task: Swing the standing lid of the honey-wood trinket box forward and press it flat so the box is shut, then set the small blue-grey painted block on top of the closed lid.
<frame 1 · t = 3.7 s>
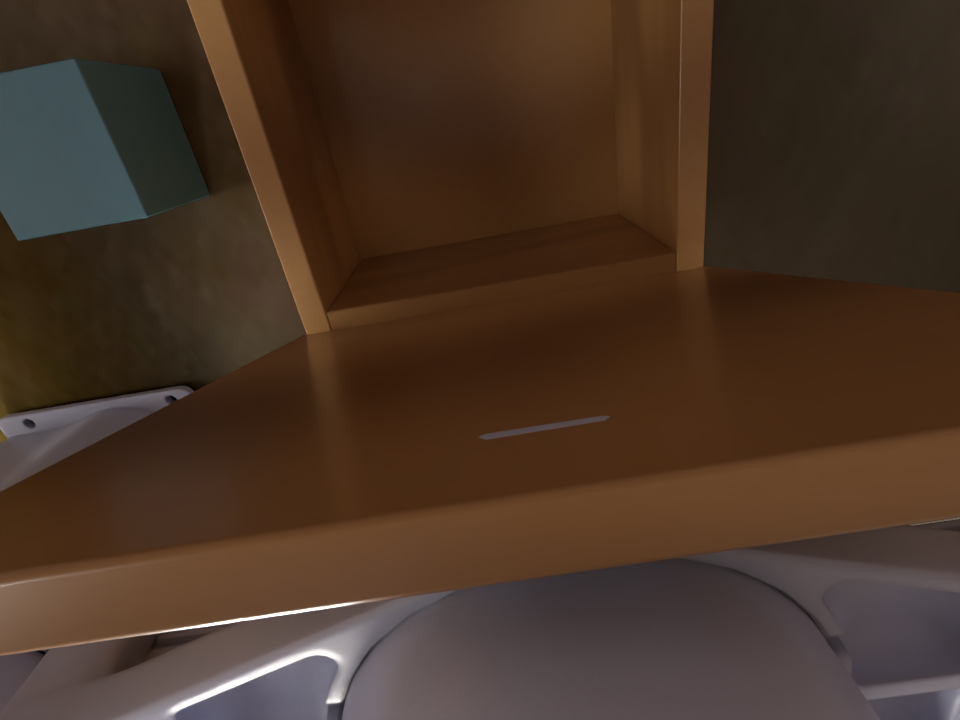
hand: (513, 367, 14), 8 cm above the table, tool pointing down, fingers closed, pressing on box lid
box lid: (516, 355, 9), point 13 cm above the table, hinge at 76.2°, touching gripper
block: (131, 146, 19), on the table
box: (468, 113, 19), on the table
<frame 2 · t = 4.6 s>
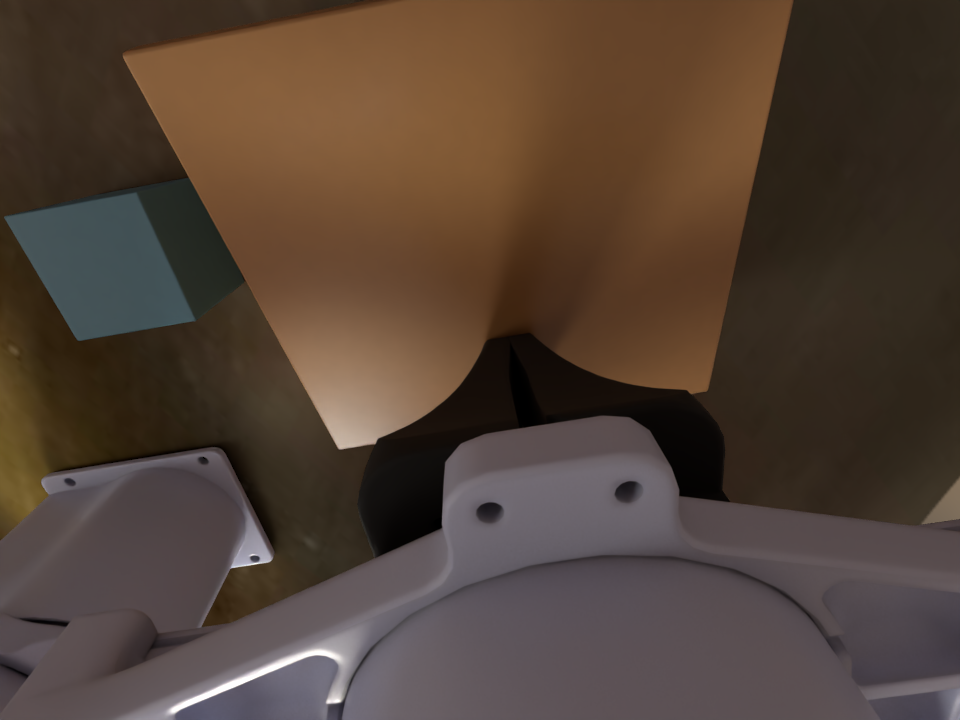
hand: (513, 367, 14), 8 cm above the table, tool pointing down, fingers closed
box lid: (496, 263, 12), point 9 cm above the table, hinge at 14.4°
block: (173, 240, 20), on the table
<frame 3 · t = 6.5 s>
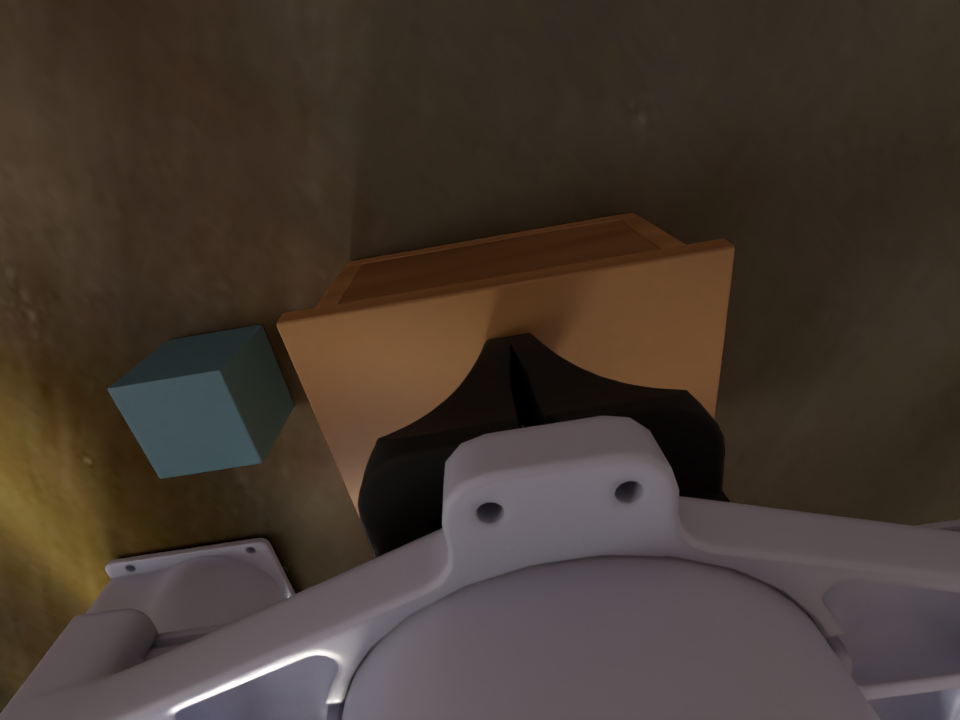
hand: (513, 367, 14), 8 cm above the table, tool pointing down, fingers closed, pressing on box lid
box lid: (523, 441, 16), point 8 cm above the table, hinge at 5.1°, touching gripper
block: (234, 374, 23), on the table
box: (506, 348, 23), on the table
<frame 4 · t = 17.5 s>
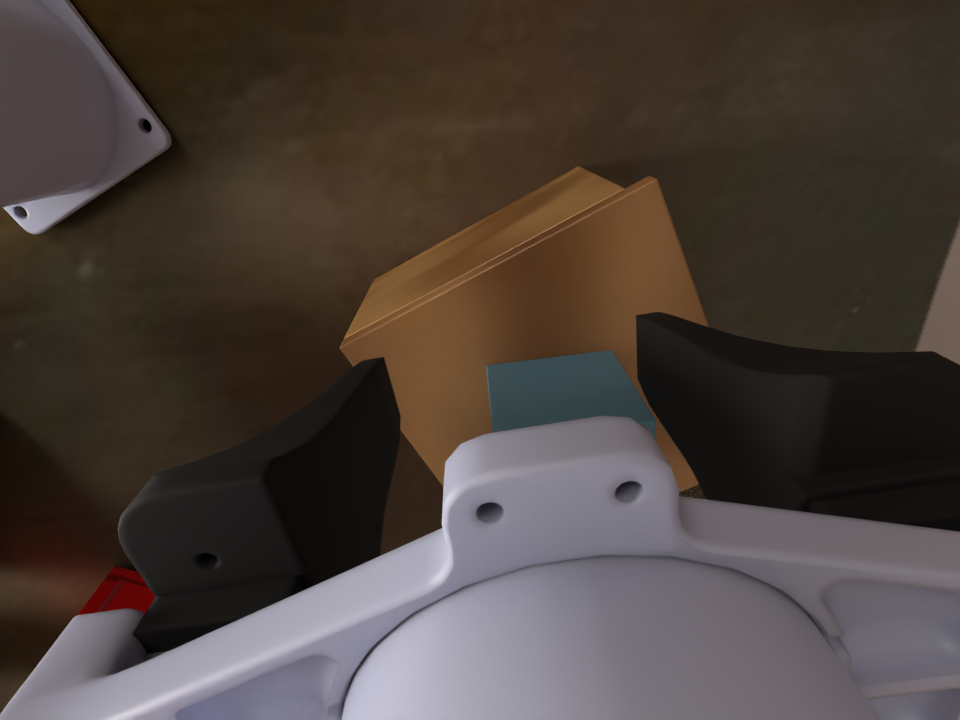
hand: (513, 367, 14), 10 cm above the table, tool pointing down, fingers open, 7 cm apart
box lid: (562, 404, 18), point 7 cm above the table, hinge at -0.1°, touching block
block: (552, 410, 18), point 8 cm above the table, touching box lid
box: (529, 331, 25), on the table
french fries container: (178, 611, 34), on the table
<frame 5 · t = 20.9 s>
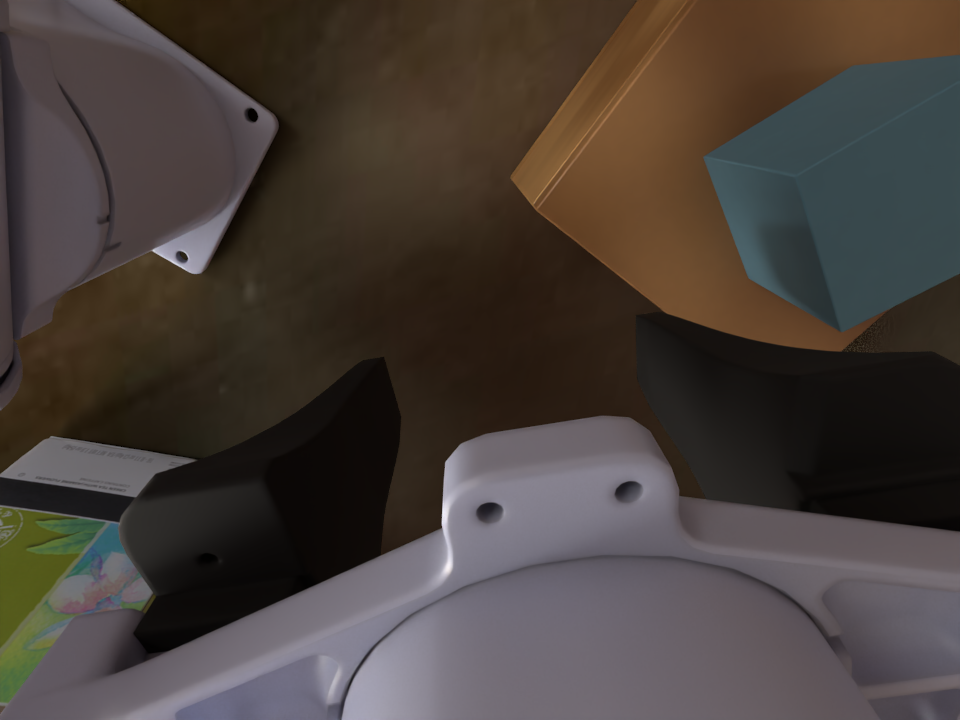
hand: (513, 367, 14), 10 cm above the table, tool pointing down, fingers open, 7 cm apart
box lid: (803, 172, 15), point 7 cm above the table, hinge at -0.1°, touching block
block: (795, 181, 15), point 8 cm above the table, touching box lid
box: (692, 160, 22), on the table
tea box: (150, 540, 30), on the table
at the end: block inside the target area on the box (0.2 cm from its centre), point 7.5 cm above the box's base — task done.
